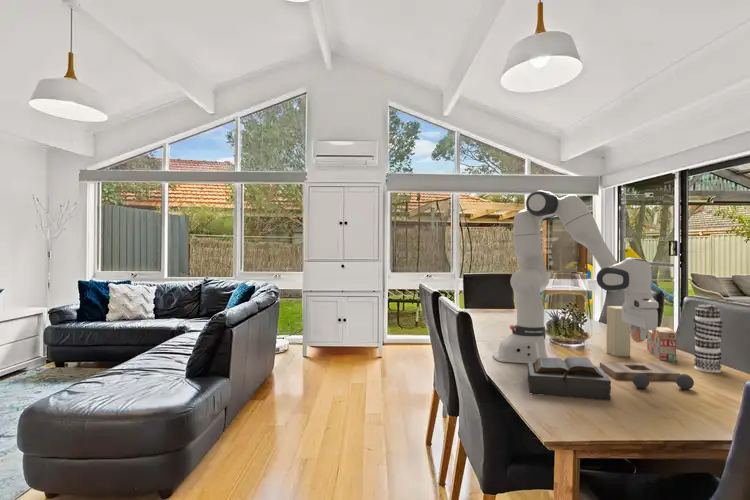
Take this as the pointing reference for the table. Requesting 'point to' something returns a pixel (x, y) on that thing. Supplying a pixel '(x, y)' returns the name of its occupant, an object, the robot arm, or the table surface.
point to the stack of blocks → (662, 343)
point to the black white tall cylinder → (707, 338)
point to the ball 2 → (684, 381)
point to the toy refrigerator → (617, 332)
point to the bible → (568, 378)
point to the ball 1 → (640, 380)
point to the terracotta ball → (636, 335)
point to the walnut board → (638, 370)
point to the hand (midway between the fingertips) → (638, 337)
